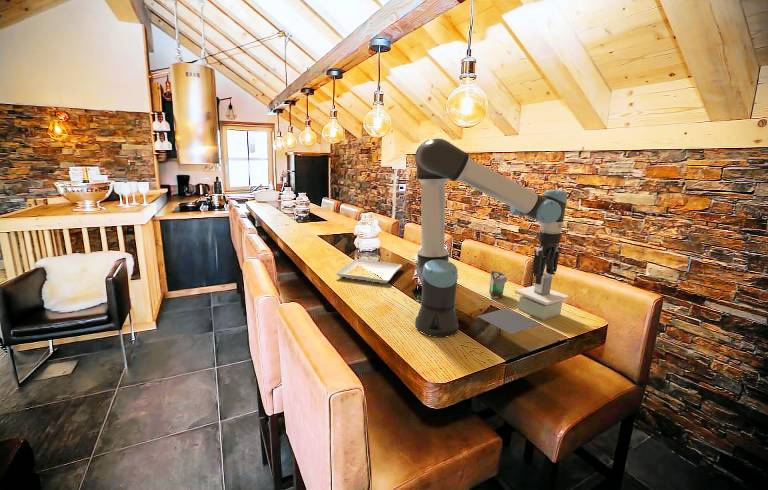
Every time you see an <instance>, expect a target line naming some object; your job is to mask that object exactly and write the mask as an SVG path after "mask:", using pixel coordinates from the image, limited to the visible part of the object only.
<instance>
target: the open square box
mask: <svg viewBox="0 0 768 490" xmlns="http://www.w3.org/2000/svg"><path fill="white" fill-rule="evenodd" d="M562 307H563V301H559V302H556V303H553V304H549V305H544V304H542V303H539V302H537V301H534V300H532V299H529V298H527V297H524V296H522V295H520V297H519V303H518V311H520V312H522V313H525V314H527V315H530V316H532V318H536V319H538V320H540V321H545V320H549V319H551V318H556V317H557V316H561V311H562Z"/></svg>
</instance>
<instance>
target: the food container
mask: <svg viewBox="0 0 768 490" xmlns="http://www.w3.org/2000/svg"><path fill="white" fill-rule="evenodd" d="M507 281H508V279H507V275H506V274H505V273H504V272H500V271H496V270H491V271H490V281H489V294H490V299H491V300H499V299H500V300H501V299H502V298H503V294H504V289H505V284H506V283H507Z"/></svg>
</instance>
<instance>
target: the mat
mask: <svg viewBox="0 0 768 490" xmlns="http://www.w3.org/2000/svg"><path fill="white" fill-rule="evenodd" d="M476 317H477V318H479V319H481V320H483V321H485V322H487V323H489V324H491V325H493V326H494V327H496V328H498V329H500V330H502V331H504V332H505V333H508V334H510V335H514V334H516V333H519V332H522V331H525V330H528V329H531V328H535V327H536V326H539V325H541V323H538V322H537V321H534V320H532V319H530V318H528V317H526V316H524V315H522V314H520V313H518V312H517V313H516V312H515V311H512V310H510V309H508V308H506V307H505V308H502V309H501V308H500V309H499V310H495V311H490V312H487V313H484V314H481V315H477V316H476Z"/></svg>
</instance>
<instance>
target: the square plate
mask: <svg viewBox="0 0 768 490" xmlns="http://www.w3.org/2000/svg"><path fill="white" fill-rule="evenodd" d="M357 265H361V266H363V268H365V269H367V270H368V271H371V272H372V273H374V274H376V275H378V276H379V277H381V278H382V279H383V280H382V279H377V278H372V277H366V276H358V275H348V274H346V273H347V272H349V271H350V270H352V269H353V268H355V267H356V266H357ZM402 267H403V264H400V263H394V262H389V261H387V262H386V261H379V260H372V259H371V260H370V259H369V260H368V259H359V258H355V259H353V260H352V261H350V262H349V263H348V264H346V265H344V266H343V267H342V268H341V269H339V270H338V271H337V272H335V274H336V276H338V277H339V278H342V277H346V278H345V279H348V278H354V279H360V280H367V281H366V282H368V281H373V282H372V283H375V282H380V283H379V284H388V282H390V280H391V279H392V278H393V276H394V275H395V274H396V273H397V272H398V271H399V270H400V269H401V268H402ZM360 280H359V281H360Z"/></svg>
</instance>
